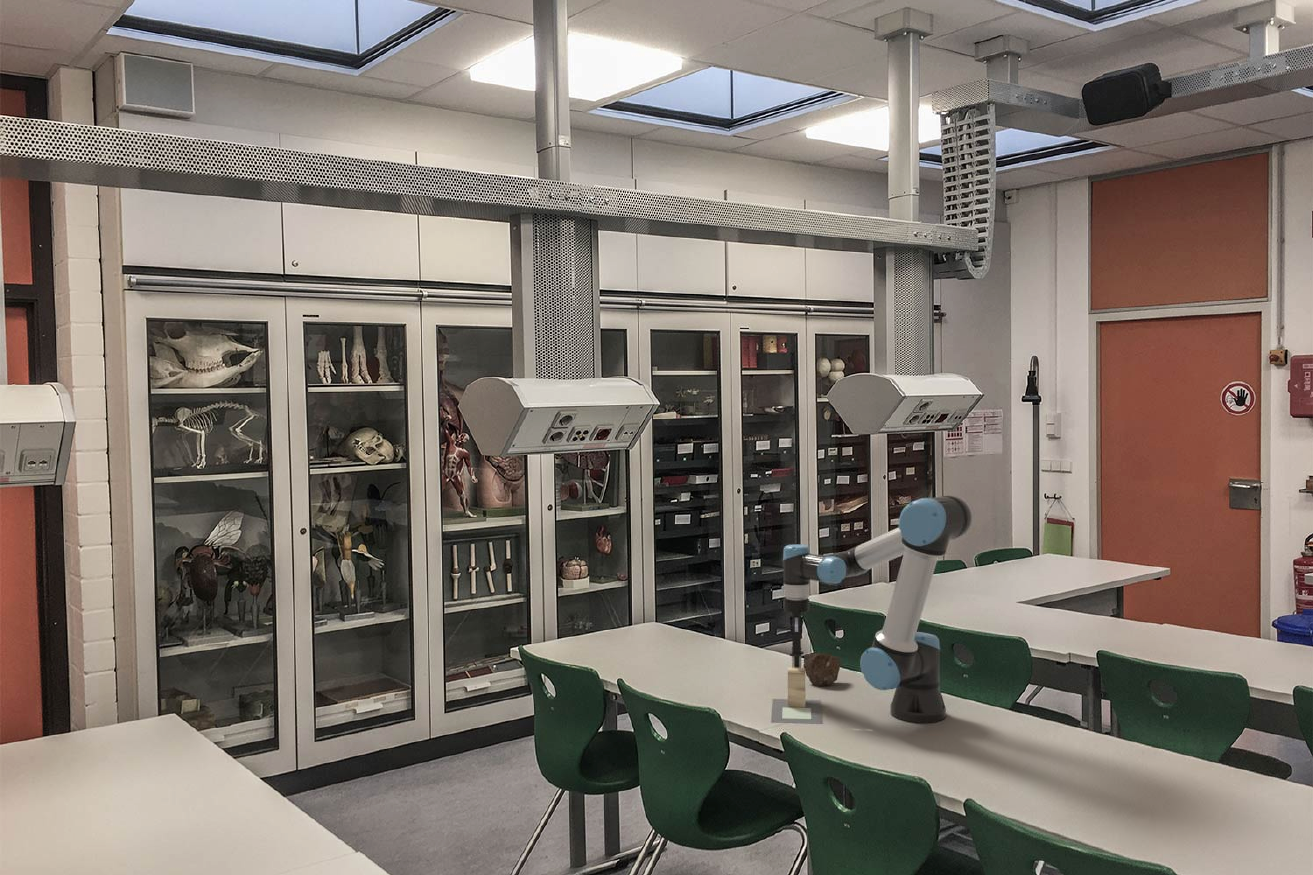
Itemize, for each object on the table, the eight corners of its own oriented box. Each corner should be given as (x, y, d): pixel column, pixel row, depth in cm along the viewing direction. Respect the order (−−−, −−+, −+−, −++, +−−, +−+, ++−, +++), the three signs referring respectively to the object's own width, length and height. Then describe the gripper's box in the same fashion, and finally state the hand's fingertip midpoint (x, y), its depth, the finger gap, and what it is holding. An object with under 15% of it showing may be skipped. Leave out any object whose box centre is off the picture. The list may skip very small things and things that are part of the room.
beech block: (787, 701, 303) (787, 667, 302) (805, 702, 302) (805, 668, 301) (787, 706, 298) (787, 672, 297) (805, 707, 297) (805, 672, 296)
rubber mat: (772, 700, 306) (772, 698, 305) (820, 701, 304) (820, 699, 304) (771, 723, 284) (771, 721, 284) (822, 725, 282) (822, 723, 282)
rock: (835, 663, 328) (850, 651, 321) (837, 694, 323) (851, 683, 315) (799, 656, 326) (813, 644, 318) (800, 687, 320) (814, 676, 312)
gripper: (783, 593, 311) (784, 671, 312) (783, 601, 298) (783, 682, 299) (809, 593, 310) (809, 671, 311) (809, 602, 297) (809, 683, 298)
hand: (796, 677), depth 305 cm, fingers closed
